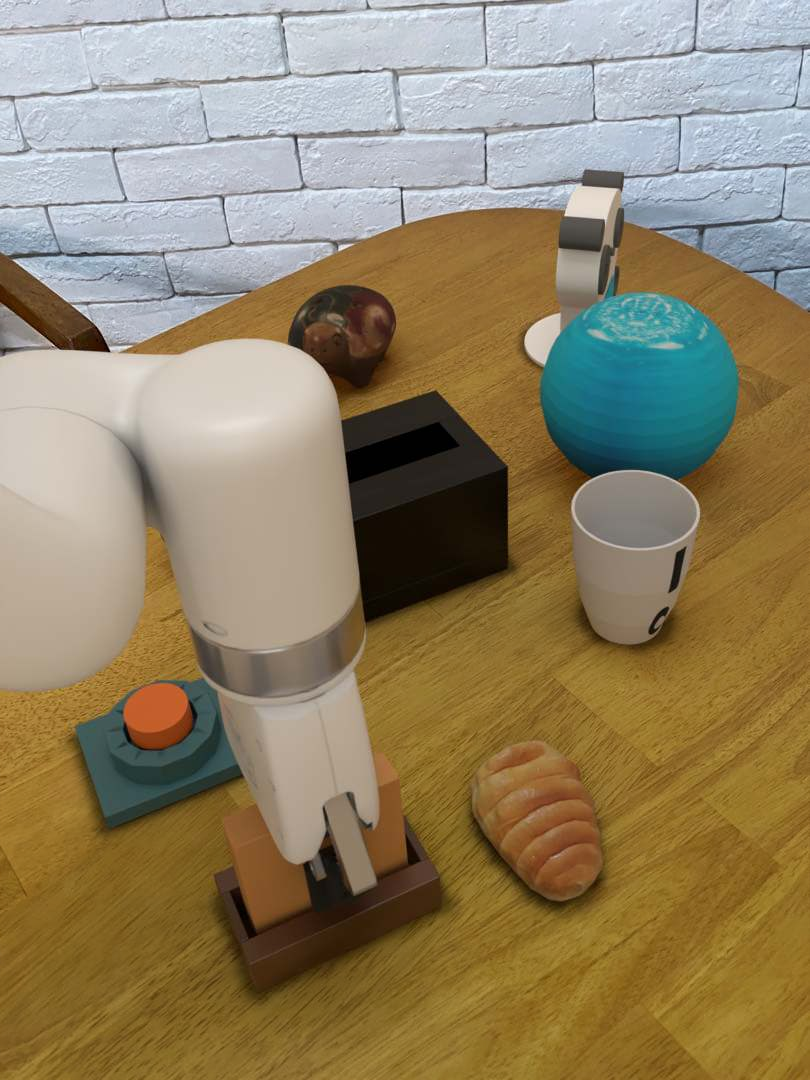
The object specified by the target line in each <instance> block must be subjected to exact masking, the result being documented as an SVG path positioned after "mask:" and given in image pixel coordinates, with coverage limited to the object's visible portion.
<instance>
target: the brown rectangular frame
mask: <svg viewBox="0 0 810 1080" xmlns="http://www.w3.org/2000/svg"><path fill="white" fill-rule="evenodd" d="M403 819H404V829H405V839H406V849H407V858H408V867H407V868H405V869H403V870H401V871H398V872H396V873H394V874H392V875H390V876H387V877H385V878H383V879H381V880H379V881H377V883H378V885H377V886H375V887H373V888H371V889H370V890H369V891H368V892H367V893H365V894H363V895H361V896H360V898H359V899H358V900H357V901H355V902H354V903H352V904H350V905H348V906H345V907H343V908H339V909H337V908H332V909H330V910H327V911H325V912H323V913H320V914H317V913H315V911H314V910H313V911H310V912H308V913H306V914H304V915H302V916H299V917H297V918H295V919H293V920H291V921H288V922H286V923H284V924H282V925H280V926H277V927H275V928H273V929H271V930H269V931H266V932H264V933H262V934H260V935H258V936H255V935H254V936H253V937H251V938H250V937H249V935H248V932H247V929H246V927H245V925H244V922H243V920H242V918H244V917H247V916H248V915H247V911H246V908H245V904H244V901H243V897H242V893H241V890H240V886H239V883H238V879H237V876H236V872H235V869H234V865H232V866H230V867H227V868H225V869H222V870H220V871H217V872H215V873H214V874H213V879H214V883H215V886H216V889H217V893H218V896H219V899H220V903H221V905H222V908H223V910H224V913H225V915H226V918H227V920H228V922H229V925H230V929H231V931H232V933H233V936H234V938H235V940H236V943H237V946H238V948H239V950H240V953H241V956H242V958H243V960H244V963H245V965H246V967H247V971H248V973H249V975H250V978H251V981H252V983H253V986H254V988H255V991H256V993H262V992H263V991H265V990H267V989H270V988H272V987H274V986H276V985H278V984H280V983H282V982H285V981H286V980H289V979H290V978H293V977H295V976H297V975H299V974H302V973H304V972H306V971H308V970H310V969H313V968H315V967H316V966H318V965H321V964H324V963H326V962H327V961H329V960H331V959H333V958H335V957H338V956H340V955H342V954H344V953H346V952H348V951H351V950H352V949H354V948H357V947H359V946H361V945H363V944H365V943H368V942H369V941H371V940H374V939H376V938H378V937H380V936H382V935H385V934H386V933H389V932H391V931H394V930H395V929H397V928H399V927H401V926H403V925H405V924H407V923H408V924H409V923H410V922H412V921H414V920H416V919H419V918H420V917H423V916H424V915H427V914H429V913H431V912H433V911H435V910H438V909H440V908H442V907H443V901H442V888H441V875H440V874H439V873H438V871H437V869H436V867H435V866H434V863H433V862H432V860H431V859H430V857H429V855H428V854H427V852H426V850H425V848H424V847H423V845H422V843H421V841H420V840H419V838H418V836H417V835H416V833H415V831H414V829H413V827H412V826H411V824H410V822H409V821H408V819H407V817H406V815H404V814H403Z"/></svg>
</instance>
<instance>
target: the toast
mask: <svg viewBox="0 0 810 1080" xmlns="http://www.w3.org/2000/svg"><path fill="white" fill-rule="evenodd" d="M372 755H373V760H374V766H375V772H376V778H377V785H378V793H379V806H380V814H379V820H378V823H377V826H376V828H375V830H374V831H373V832H371V831H370V830H369V829H366V830H365V829H364V827H363V825H362V823H361V821H360V823H361V827H362V831H363V835H364V839H365V843H366V847H367V852H368V855H369V858H370V861H371V864H372V867H373V870H374V873H375V876H376V879H377V881H379V880H381V879H383V878H385V877H387V876H390V875H392V874H394V873H396V872H398V871H401V870H403V869H405V868H407V867H409V864H408V858H407V849H406V839H405V829H404V819H403V815H404V810H403V801H402V791H401V781H400V776H399V775H398V773H397V771H396V770H395V768H394V767H393V765H392V763H391V761H390V759H389V758H388V757H387V755H386V753H385V752H384V751H380V752H376V753H375V754H372ZM220 821H221V825H222V830H223V833H224V837H225V839H226V843H227V844H226V845H227V847H228V852H229V854H230V859H231V861H232V866H234V869H235V872H236V876H237V879H238V883H239V886H240V890H241V893H242V897H243V901H244V904H245V908H246V911H247V915H246V916H247V918H248V921H249V926H250V928H251V930H252V933H253V935H254V937H255V936H258V935H260V934H262V933H264V932H266V931H269V930H271V929H273V928H275V927H277V926H280V925H282V924H284V923H286V922H288V921H291V920H293V919H295V918H297V917H299V916H302V915H304V914H306V913H308V912H310V911H313V910H314V909H313V907H312V905H311V901H310V896H309V891H308V886H307V882H306V877H305V872H304V868H303V864H305V862H304V863H301V864H298V865H296V864H293V863H291V862H289V861H287V860H286V859H285V858H284V857H283V856H282V854H281V853H280V851H279V849H278V848H277V846H276V844H275V842H274V840H273V838H272V836H271V833H270V831H269V829H268V827H267V825H266V823H265V821H264V819H263V817H262V814H261V812H260V810H259V808H258V806H257V804H256V803H255V804H253V805H251V806H248V807H246V808H244V809H241V810H239V811H236V812H234V813H231V814H228V815H227V816H225V817H222V818H220ZM330 845H332V841H331V838H330V836H329V837H327V838H324V839H323V841H322V844H321V846H320V850H321V849H323V848H326V847H328V846H330Z"/></svg>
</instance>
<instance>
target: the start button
mask: <svg viewBox="0 0 810 1080" xmlns="http://www.w3.org/2000/svg"><path fill="white" fill-rule="evenodd" d="M123 715H124V720H125V723H126V726H127V729H128V731H129V734H130V737H131V739H132V741H133V742H134V743H135V744H136V745H138V746H139V747H141V748H143V749H147V750H163V749H167V748H169V747H172V746H174V745H176V744H178V743H179V742H181V741H182V740H183V739H184V738H185V737H186V736H187V735H188V734H189V732H190V730H191V728H192V725H193V715H192V712H191V708H190V705H189V701H188V698H187V695H186V693H185V692H184V691H183V690H182V689H181V688H179V687H178V686H176V685H173V684H169V683H157V684H152V685H148V686H146V687H143V688H141V689H140V690H138V691H137V692H135V693H134V694H133V695H132V696H131V697H130V698H129V699H128V701H127V702H126V704H125V707H124V712H123Z"/></svg>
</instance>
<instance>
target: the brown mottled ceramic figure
mask: <svg viewBox="0 0 810 1080" xmlns="http://www.w3.org/2000/svg"><path fill="white" fill-rule="evenodd" d="M396 317H397V316H396V312H395V310H394V307H393V305H392V303H391V302H390V301H389V300H388V298H387V297H386V296H385V295H383V294H382V293H380V292H378V291H376V290H374V289H371V288H369V287H365V286H362V285H357V284H342V285H341V284H340V285H336V286H331V287H327V288H325V289H322V290H320V291H317V292H316V293H315V294H313V295H311V296H310V297H309V298H308V299H306V301H305V302H304V303H303V304H302V305H301V306H300V307H299V308H298V310H297V312H296V313H295V315H294V317H293V319H292V322H291V324H290V327H289V332H288V336H287V345H290V346H292V347H295V348H298V349H300V350H302V351H303V352H305V353H307V354H308V355H310V356H311V357H312V358H313V359H314V360H316V361H317V362H318V363H319V364H320V365H321V366H322V367H323V368H324V370H325V371H326V373H327V375H328V376H338V377H340V378H341V379H343V380H345V381H347V382H348V383H349V384H350V385H351V386H353V387H355V388H356V389H364V388H365V387H368V385H369V384H370V382H371V381H372V378H373V376H374V374H375V372H376V370H377V367H378V365H379V364H380V363H381V362H382V361H383V360H384V358H385V356H386V354H387V350H388V348H389V346H390V345H391V343H392V340H393V338H394V335H395V332H396V328H397V318H396Z"/></svg>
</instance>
